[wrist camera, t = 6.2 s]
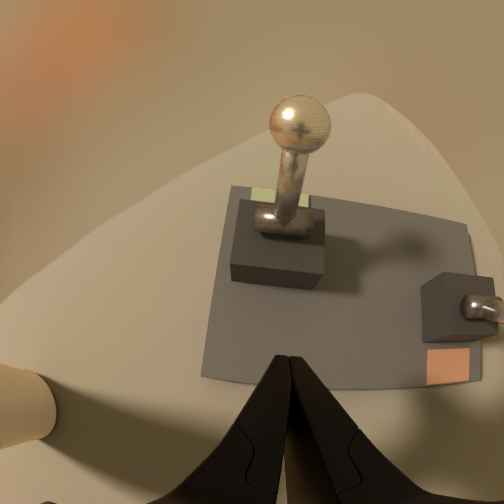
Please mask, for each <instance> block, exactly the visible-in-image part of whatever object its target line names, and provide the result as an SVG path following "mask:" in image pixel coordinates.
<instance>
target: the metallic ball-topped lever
mask: <svg viewBox="0 0 504 504" xmlns="http://www.w3.org/2000/svg"><path fill="white" fill-rule="evenodd" d="M269 128H270V132H271V135H272V137H273V139H274V141H275V142H276V143H277V144H278V146H280V147H281V148H282V154H281V161H280V168H279V175H278V182H277V188H276V195H275V202H274V206H266V205H257V204H256V208H255V216H254V225H253V231H257V232H266V233H274V234H282V235H290V236H298V237H306V238H310V237H311V235H312V231H313V225H314V212H312V211H305V210H298V205H299V200H300V195H301V191H302V186H303V181H304V176H305V172H306V167H307V162H308V157H309V154H310V153H313V152H315V151H317V150H319V149H320V148H321V147H322V146H323V145H324V144H325V143H326V141H327V140H328V138H329V135H330V132H331V120H330V116H329V114H328V112H327V110H326V108H325V107H324V106H323V105H322V104H321V103H320V102H319V101H317V100H316V99H313V98H312V97H309V96H305V95H294V96H290V97H287V98H285V99H283V100H282V101H280V102H279V103H278V104H277V105H276V106H275V107H274V109H273V111H272V113H271V115H270V120H269Z"/></svg>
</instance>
